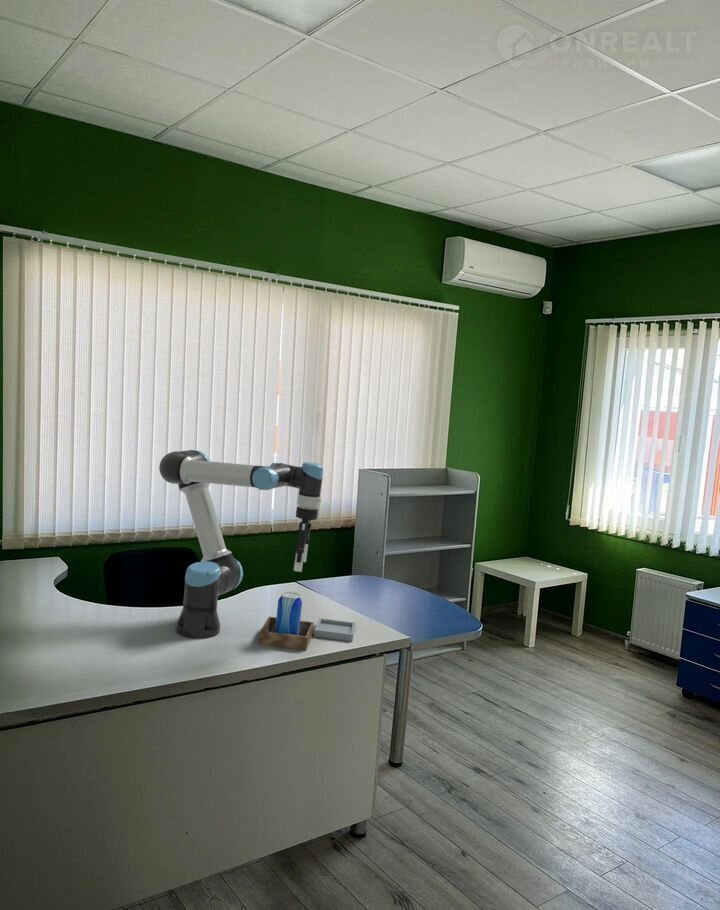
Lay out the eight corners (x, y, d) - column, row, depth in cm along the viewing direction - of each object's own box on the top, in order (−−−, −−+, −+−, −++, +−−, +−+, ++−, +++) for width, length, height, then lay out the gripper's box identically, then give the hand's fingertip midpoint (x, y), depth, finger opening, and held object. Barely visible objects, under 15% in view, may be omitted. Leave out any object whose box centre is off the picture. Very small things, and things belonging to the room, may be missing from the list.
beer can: (294, 645, 249) (298, 600, 247) (271, 640, 250) (275, 596, 249) (301, 637, 257) (305, 593, 256) (278, 633, 259) (283, 590, 257)
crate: (258, 644, 246) (259, 631, 246) (267, 628, 262) (268, 616, 262) (306, 650, 245) (307, 637, 245) (312, 634, 262) (313, 622, 261)
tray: (313, 636, 259) (314, 629, 259) (318, 624, 273) (319, 617, 273) (352, 641, 258) (353, 634, 258) (355, 629, 272) (355, 622, 272)
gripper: (314, 514, 238) (306, 577, 241) (321, 502, 263) (313, 559, 265) (292, 511, 239) (284, 573, 241) (301, 500, 263) (293, 556, 266)
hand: (299, 566), depth 253 cm, fingers open, 13 cm apart
